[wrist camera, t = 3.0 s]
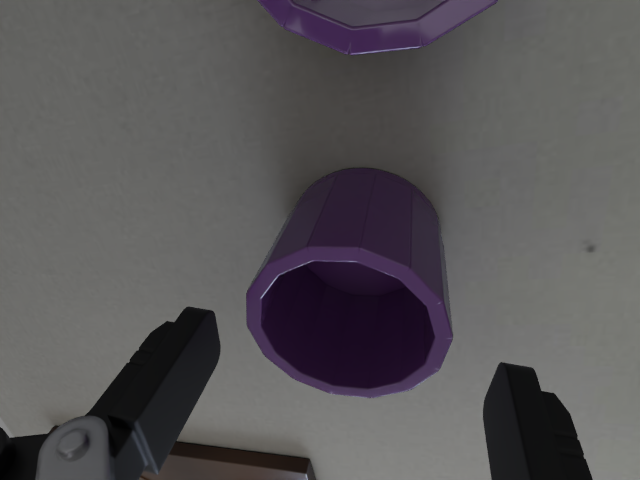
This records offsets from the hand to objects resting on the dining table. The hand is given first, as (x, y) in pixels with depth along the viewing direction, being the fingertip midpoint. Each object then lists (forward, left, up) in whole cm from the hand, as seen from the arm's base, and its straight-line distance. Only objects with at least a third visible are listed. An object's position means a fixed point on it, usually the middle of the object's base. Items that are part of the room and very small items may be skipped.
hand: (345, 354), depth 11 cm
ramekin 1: (0, 0, -6) cm, 6 cm away
